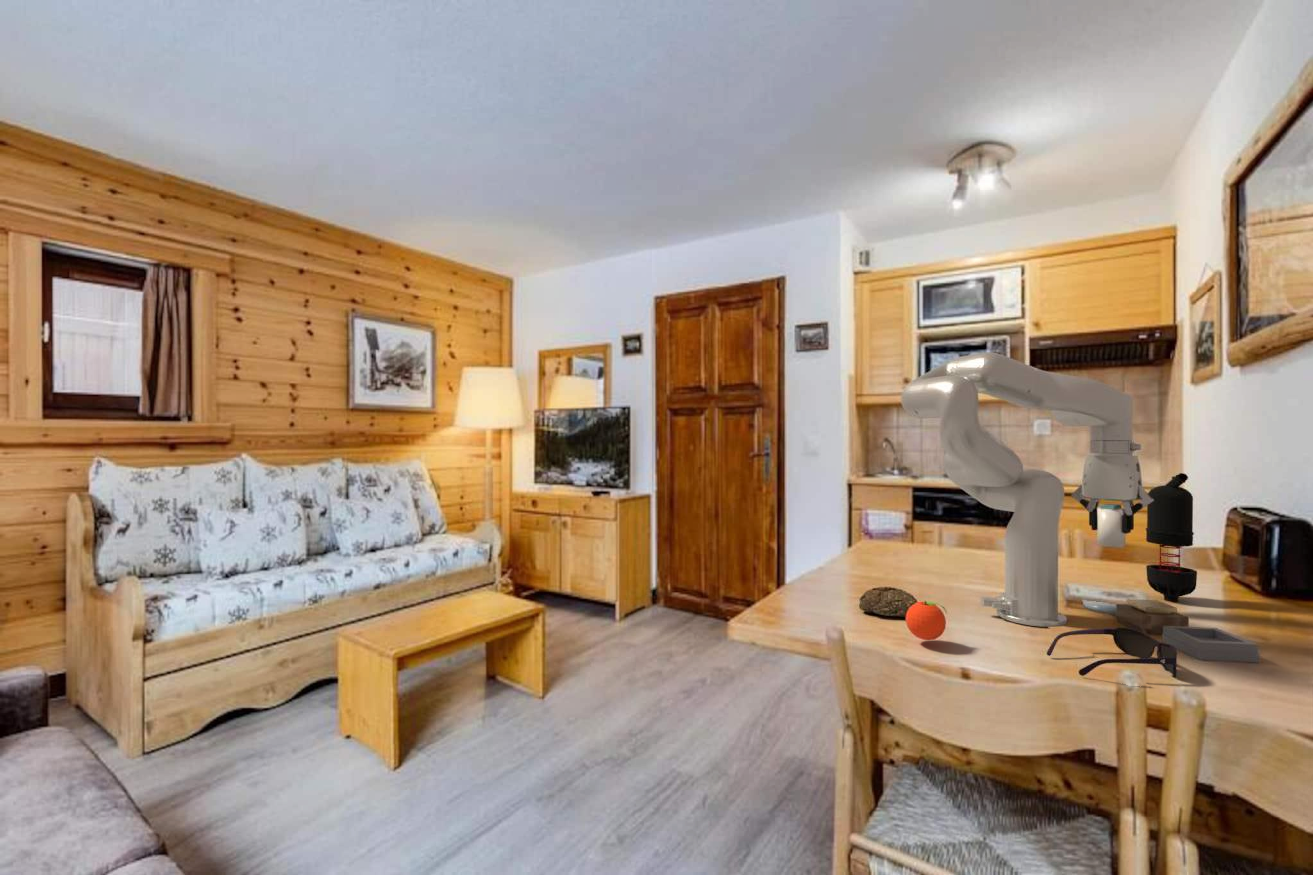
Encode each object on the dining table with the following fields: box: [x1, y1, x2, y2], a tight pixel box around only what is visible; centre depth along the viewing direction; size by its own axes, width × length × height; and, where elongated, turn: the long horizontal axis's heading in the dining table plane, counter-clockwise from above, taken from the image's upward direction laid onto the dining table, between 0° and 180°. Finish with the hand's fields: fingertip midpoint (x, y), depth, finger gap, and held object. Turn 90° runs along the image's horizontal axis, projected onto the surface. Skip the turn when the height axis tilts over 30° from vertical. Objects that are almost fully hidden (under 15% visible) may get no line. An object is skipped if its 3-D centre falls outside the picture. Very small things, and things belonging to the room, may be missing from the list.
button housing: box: [1115, 604, 1190, 635], centre depth 118 cm, size 8×8×4 cm
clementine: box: [905, 600, 948, 641], centre depth 112 cm, size 8×7×7 cm
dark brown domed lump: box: [858, 586, 918, 618], centre depth 132 cm, size 13×12×5 cm
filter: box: [1145, 472, 1198, 603], centre depth 139 cm, size 14×9×30 cm
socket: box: [1161, 626, 1260, 663], centre depth 105 cm, size 9×9×3 cm
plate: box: [1082, 599, 1116, 616], centre depth 131 cm, size 10×10×1 cm
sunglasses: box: [1046, 626, 1178, 678], centre depth 99 cm, size 14×16×5 cm
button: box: [1126, 598, 1178, 615], centre depth 118 cm, size 6×6×3 cm
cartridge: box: [1096, 503, 1127, 549], centre depth 131 cm, size 5×5×9 cm
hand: (1110, 530), depth 131 cm, fingers closed on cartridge, 5 cm apart
